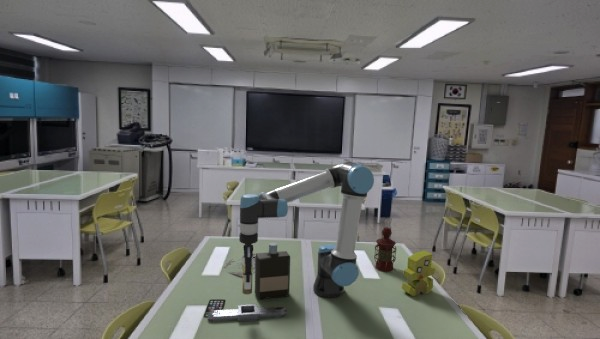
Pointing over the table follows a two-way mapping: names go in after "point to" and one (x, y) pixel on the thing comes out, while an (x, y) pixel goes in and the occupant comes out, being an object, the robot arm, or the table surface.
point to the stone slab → (242, 265)
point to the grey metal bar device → (246, 313)
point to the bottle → (272, 273)
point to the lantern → (385, 251)
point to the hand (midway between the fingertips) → (247, 286)
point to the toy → (419, 273)
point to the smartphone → (214, 306)
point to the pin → (244, 291)
